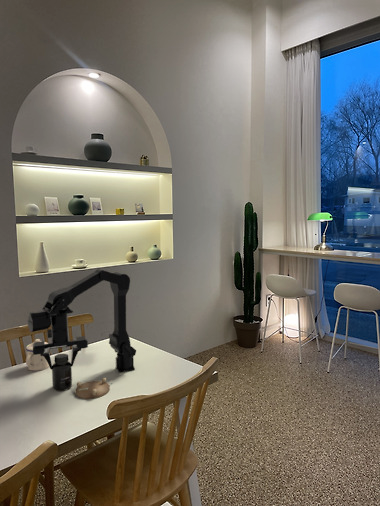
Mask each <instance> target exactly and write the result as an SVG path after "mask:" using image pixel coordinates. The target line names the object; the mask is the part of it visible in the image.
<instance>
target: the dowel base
mask: <svg viewBox="0 0 380 506" xmlns="http://www.w3.org/2000/svg"><path fill="white" fill-rule="evenodd" d="M74 390H75V391H74V392H75V395H76V397H78V398H80V399H84V400H90V399H91V400H92V399H98V398H100V397H101V398H102V397H103V396H106V395H107V394H108V393H109V392H110V390H111V388H110V384H109V383H108V382H107V379H106V377H103V378H101V380H91V381H85V382H83V383H81V381H78V382H76V387H75V389H74Z"/></svg>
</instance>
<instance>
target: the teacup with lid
mask: <svg viewBox="0 0 380 506" xmlns="http://www.w3.org/2000/svg"><path fill="white" fill-rule="evenodd" d="M34 342H42V340H41V339H40V338H37V339H35V340H34V341H33V342H32V343H29V344H28V345H27V346H26V348H25V350H26V357H25V364H26V366H27V369H28V370H29V371H35V372H37V371H38V372H39V371H43V370H46V369H48V368H50V366H49V364H48V362H47V360H46V359H45V358H44V356H40V354H37V355H33V344H34ZM44 343H45V344H49V343H48V342H46V341H44Z"/></svg>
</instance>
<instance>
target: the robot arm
mask: <svg viewBox="0 0 380 506" xmlns="http://www.w3.org/2000/svg"><path fill="white" fill-rule="evenodd" d="M103 281H104V282H108V283H109V285H110V290H111V292H112V293H113V332H112V333H109V334H108V338H109V341H108V344H109V345H110V348H112V349H113V350H114V353H116V356H115V368H116V369H117V370H118V373H123V372H127V371H128V372H129V371H136V368H135V366H134V361H135V360H134V356H136V354H137V349H135V348H134V347H133V346H131V339H130V336H129V333H128V331H127V294H128V292H129V290H130V285H131V277H130V276H129V275H128V274H126V273H123V272H117V271H115V272H113V273H112V272H109V271H107V270H105V269H102V268H97V269H96V270H95V271H93V272H92V273H90V274H88V275H87V276H85V277H83V278H81V279H80V280H78V281H76V282H74V283H73V284H71V285H69V286H67V287H62V288H59V289H57V290H53V291H51V292H50V293H49V295H48V297H47V301H46V302H45V304H44V305H43V307H42V310H38V311H30V312H28V313H29V316H28V319H27V328H28V330H29V332H30V333H35V332H40V331H45V330H46V331H47V333H46V334H47V339H51V343H48V344H45V343H44V342H45V340H43V341H42V340H41V341H42V342H35V341H33V342H34V344H33V355H37V354H40V356H44V358H45V359H46V360H47V362H48V364H49V368H50V370H51V371H52V365H53V363H52V360H51V353H50V350H52V349H59V348H60V349H61V348H67V347H71V356H70V357H71V359H70V363H71V368H73V366H74V364H75V361H76V357H77V355H78V353H79V352H81V351H82V349H87V348H88V347H89V343H88V339H87V337H86V336H85V335H83V336H75V337H74V338H75V339H73V340H69V338H70V337H69V322H68V321H69V320H68V314H72V313H74V311H73V310H72V309H71V308H70V307H69V306H70V305H71V304H72V303H73V302H74V300H75V299H76V298H77V297H78V296H80V295H81V294H83V293H84V292H86V291H88V290H90V289H92V288H93V287H95V286H96V285H98V284H100V283H101V282H103Z"/></svg>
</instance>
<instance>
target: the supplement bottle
mask: <svg viewBox="0 0 380 506" xmlns="http://www.w3.org/2000/svg"><path fill="white" fill-rule="evenodd" d="M53 361H54V363H52V370H51V372H52V373H51V378H52V380H51V381H52V389H53V390H54V391H58V392H62V391H63V392H64V391H67V390H70V389H71V387H72V385H73V376H72V375H73V374H72V372H73V371H72V368H73V367H71V361H69V355H68V354H67V353H59V354H56V355H55V356H54V360H53Z"/></svg>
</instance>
